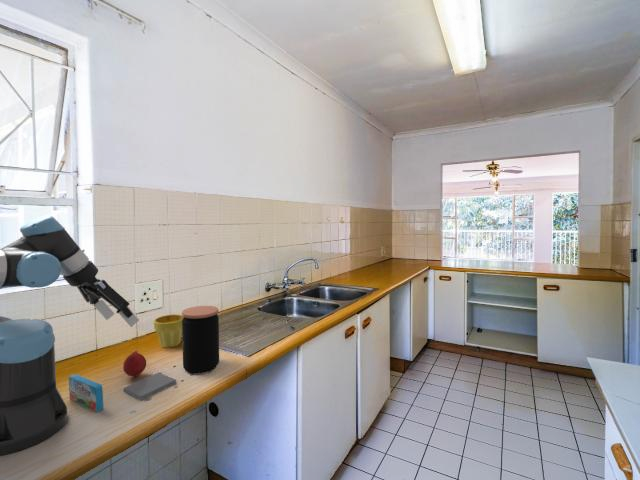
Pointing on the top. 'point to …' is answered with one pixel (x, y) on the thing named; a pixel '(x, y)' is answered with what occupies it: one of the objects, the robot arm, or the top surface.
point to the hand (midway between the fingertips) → (122, 319)
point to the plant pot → (169, 330)
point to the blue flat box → (86, 392)
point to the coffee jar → (200, 339)
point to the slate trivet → (149, 386)
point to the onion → (134, 364)
